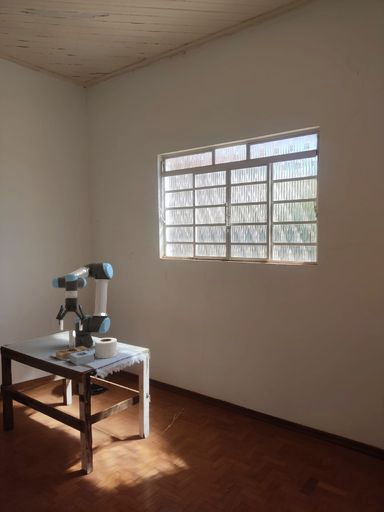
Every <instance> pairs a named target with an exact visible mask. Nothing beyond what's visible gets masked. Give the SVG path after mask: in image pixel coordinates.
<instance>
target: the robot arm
mask: <svg viewBox="0 0 384 512" xmlns="http://www.w3.org/2000/svg"><path fill="white" fill-rule="evenodd" d="M113 275H114V270H113V266H112V265H111V264H110V263H107V262H103V263H101V262H100V263H99V262H98V263H97V262H96V263H95V262H91V263H87V264H84V265H82V266H80V267H78V268H77V270H74V271H72V272H70V273H67V274H65V275H63V276H57V277H54V278H53V279H52V281H51V283H52V287H53V288H54V289H65V294H64V296H65V300H64V301H65V304H61V305H60V308H59V311H58V313H57V315H56V318H55V319H56V320H58V325H59V331H63V330H64V318H65V316H66V315H67V314H68V313H75V315H76V316H77V317H75V319H74V321H75V322H74V326H75V327H74V328H75V348H76V347H81V346H84V347H86V348H90V347H92V346H94V339H93V337H92V336H93V335H92V334H93V333H95V334H105V333H107V332H108V331H109V329H110V327H111V319H110V318H109V317H108V316H109V315H108V314H107V303H108V302H107V300H108V298H107V297H108V286H109V285H108V283H109V282H110V280H111V279H112V278H113ZM90 278H91V279H94V281H95V283H96V284H95V286H96V287H95V303H94V304H95V305H94V313H93V314H92V316H91V315H90V314H85V311H84V309H83V305H82V304H78V289H81V290H82V289H83V288H85V287H86V286H87V284H88V283H87V280H86V279H90Z"/></svg>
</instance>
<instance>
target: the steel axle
mask: <svg viewBox="0 0 384 512" xmlns="http://www.w3.org/2000/svg"><path fill="white" fill-rule="evenodd" d="M75 336H76V333H75V330H74V329H71V330H69V331H68V337H69V338H68V342H69V344H68V345H69V346H68V347H69V348H68V349H69V352H72V351H75Z"/></svg>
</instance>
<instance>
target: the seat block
mask: <svg viewBox="0 0 384 512" xmlns="http://www.w3.org/2000/svg"><path fill="white" fill-rule="evenodd" d="M69 362H71V363H72V364H74V365H76V366H81V365H85V364H89V363H93V362H95V353H92V352H90V350H89V351H87V350H85V351H81V352H76V353H71V354H70V359H69Z"/></svg>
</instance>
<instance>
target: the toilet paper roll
mask: <svg viewBox="0 0 384 512" xmlns="http://www.w3.org/2000/svg"><path fill="white" fill-rule="evenodd" d="M117 355H118V339H117V338H116V337H102V338H101V337H100V338H98V339H97V338H96V339H95V340H94V358H98V359H110V358H113V357H116V356H117Z"/></svg>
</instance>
